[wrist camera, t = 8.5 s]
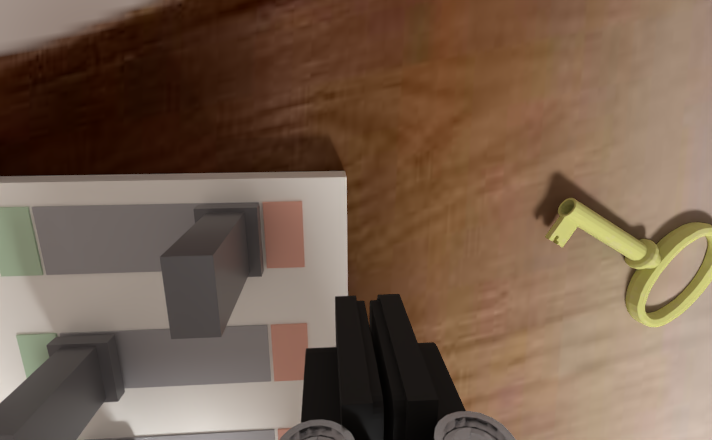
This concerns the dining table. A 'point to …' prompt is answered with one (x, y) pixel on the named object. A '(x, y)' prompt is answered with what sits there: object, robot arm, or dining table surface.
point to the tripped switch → (211, 268)
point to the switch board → (147, 297)
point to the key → (640, 258)
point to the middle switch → (64, 390)
